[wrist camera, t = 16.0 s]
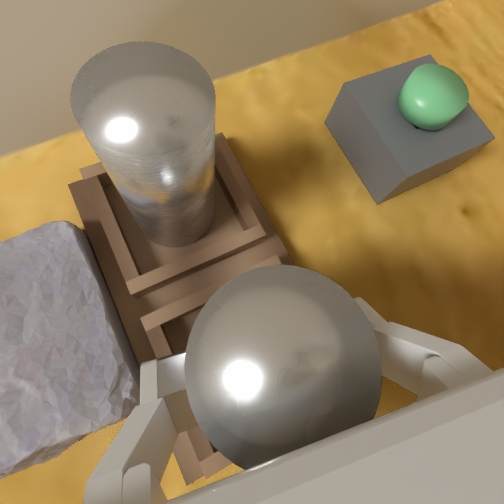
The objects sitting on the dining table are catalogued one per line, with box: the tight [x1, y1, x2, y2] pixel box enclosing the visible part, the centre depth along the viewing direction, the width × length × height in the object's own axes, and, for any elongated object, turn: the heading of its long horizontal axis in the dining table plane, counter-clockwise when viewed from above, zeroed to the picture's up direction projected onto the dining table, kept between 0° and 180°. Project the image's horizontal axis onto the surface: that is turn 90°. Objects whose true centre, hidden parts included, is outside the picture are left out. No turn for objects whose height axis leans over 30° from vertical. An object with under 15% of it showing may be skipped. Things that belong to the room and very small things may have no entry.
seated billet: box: [71, 42, 215, 248], centre depth 16 cm, size 5×5×10 cm
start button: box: [397, 64, 469, 130], centre depth 23 cm, size 4×4×5 cm
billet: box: [184, 265, 382, 470], centre depth 13 cm, size 5×5×10 cm
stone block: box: [0, 221, 140, 479], centre depth 17 cm, size 12×5×10 cm
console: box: [324, 55, 495, 204], centre depth 24 cm, size 8×8×4 cm
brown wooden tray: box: [68, 132, 295, 485], centre depth 20 cm, size 11×19×2 cm, turn 27°
